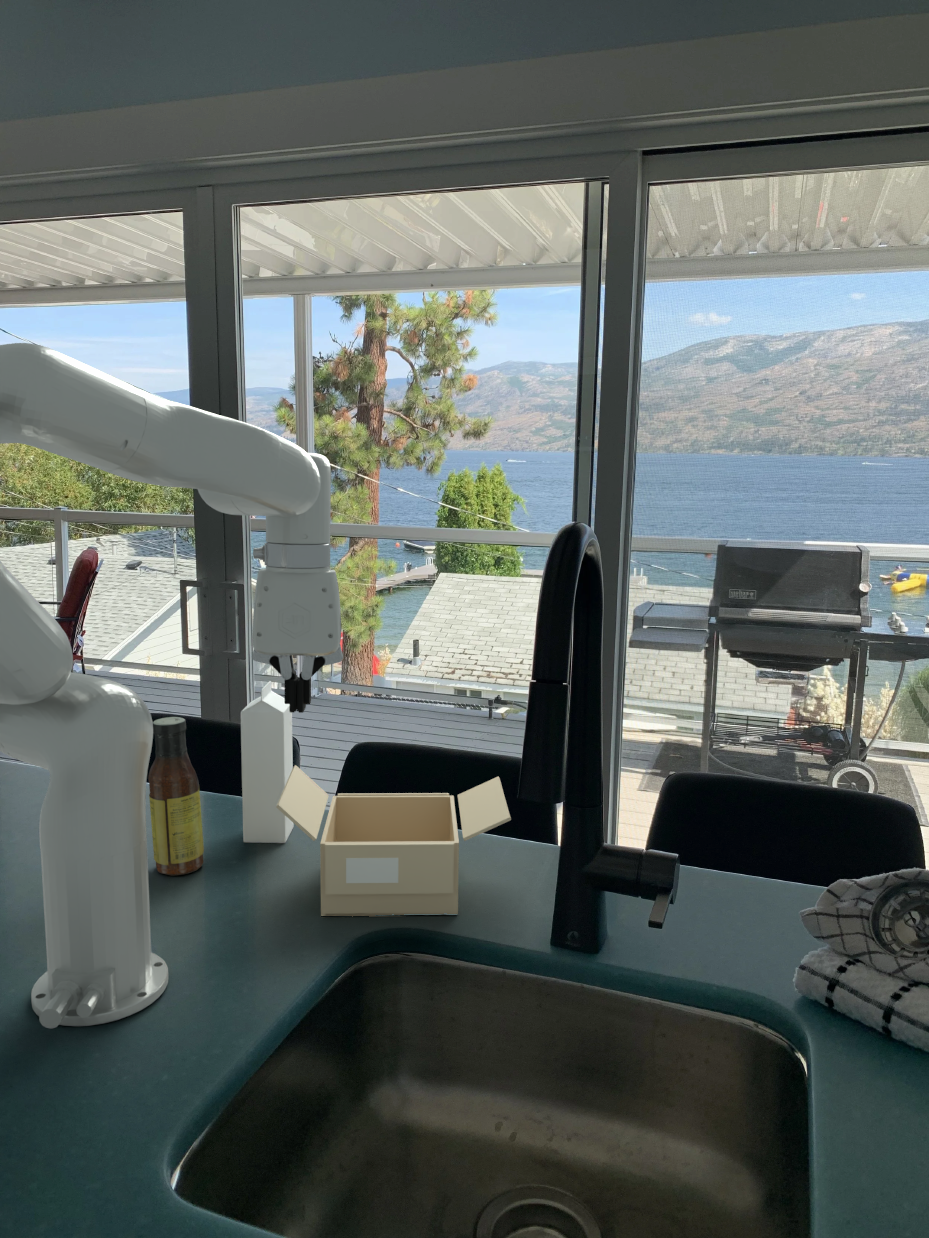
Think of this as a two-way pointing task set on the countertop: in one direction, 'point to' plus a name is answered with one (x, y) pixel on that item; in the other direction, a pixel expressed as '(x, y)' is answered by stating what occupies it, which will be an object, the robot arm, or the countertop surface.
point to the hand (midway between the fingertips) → (297, 709)
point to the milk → (265, 767)
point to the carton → (390, 855)
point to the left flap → (303, 802)
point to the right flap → (482, 808)
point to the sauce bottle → (174, 802)
